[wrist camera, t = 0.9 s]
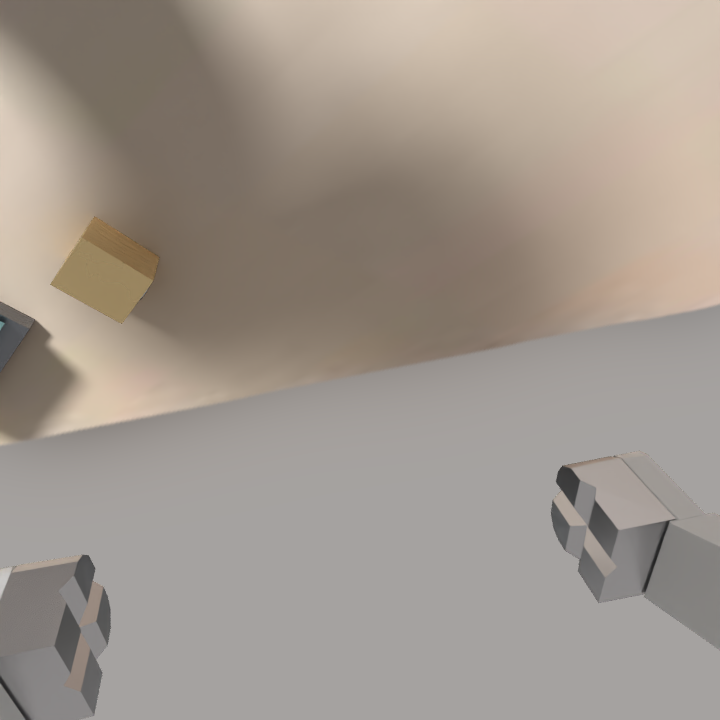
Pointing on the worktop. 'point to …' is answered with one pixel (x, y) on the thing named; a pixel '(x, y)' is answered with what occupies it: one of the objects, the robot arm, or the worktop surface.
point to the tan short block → (107, 271)
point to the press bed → (11, 331)
